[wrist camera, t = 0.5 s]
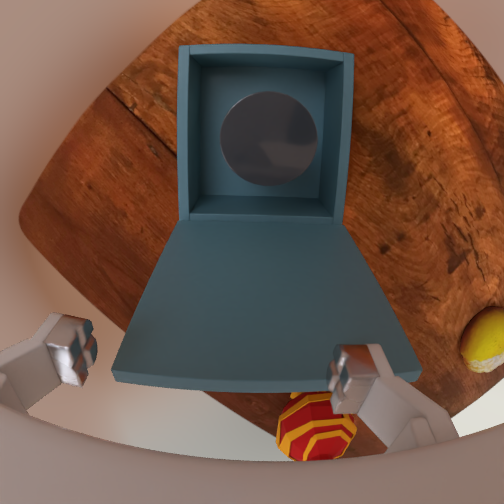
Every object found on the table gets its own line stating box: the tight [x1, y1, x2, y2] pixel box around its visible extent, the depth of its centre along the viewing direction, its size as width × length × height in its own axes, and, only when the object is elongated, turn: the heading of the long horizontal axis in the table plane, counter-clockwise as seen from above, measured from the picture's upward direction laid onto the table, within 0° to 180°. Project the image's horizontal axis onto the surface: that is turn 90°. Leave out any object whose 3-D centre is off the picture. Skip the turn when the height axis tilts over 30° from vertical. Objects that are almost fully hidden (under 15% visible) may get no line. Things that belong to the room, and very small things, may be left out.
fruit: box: [460, 306, 504, 373], centre depth 35 cm, size 11×10×8 cm
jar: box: [220, 91, 318, 186], centre depth 22 cm, size 6×6×11 cm
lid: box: [111, 221, 422, 393], centre depth 18 cm, size 14×13×1 cm
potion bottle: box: [276, 391, 357, 461], centre depth 34 cm, size 10×10×15 cm
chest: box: [177, 44, 354, 225], centre depth 25 cm, size 14×13×7 cm
